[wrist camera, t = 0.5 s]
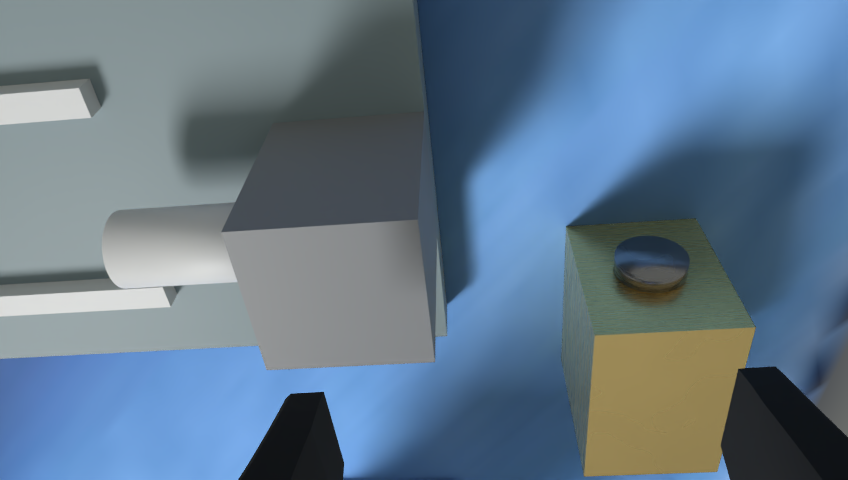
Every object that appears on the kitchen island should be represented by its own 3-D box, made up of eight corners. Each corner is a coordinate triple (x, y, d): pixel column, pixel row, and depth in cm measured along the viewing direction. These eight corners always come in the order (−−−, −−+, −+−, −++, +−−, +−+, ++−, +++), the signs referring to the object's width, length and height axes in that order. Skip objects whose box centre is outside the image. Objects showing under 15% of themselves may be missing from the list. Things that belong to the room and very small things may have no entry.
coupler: (697, 203, 20) (759, 312, 16) (669, 362, 25) (714, 481, 20) (566, 211, 21) (595, 320, 17) (560, 367, 25) (583, 486, 21)
